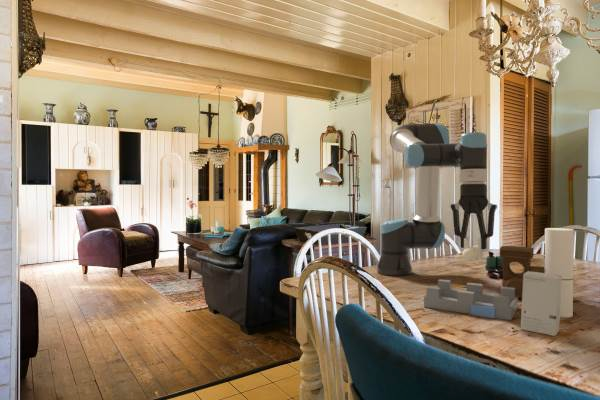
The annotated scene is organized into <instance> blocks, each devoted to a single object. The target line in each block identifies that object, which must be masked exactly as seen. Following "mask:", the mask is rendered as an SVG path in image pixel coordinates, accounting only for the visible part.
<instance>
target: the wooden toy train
mask: <svg viewBox="0 0 600 400" xmlns="http://www.w3.org/2000/svg"><path fill="white" fill-rule="evenodd" d="M499 253H500V254H499V256H500V257H502V262H503V277H504V279H502V286H501V287H511V288H515V297H518V299H522V292H523V275H524V273H526V272H527V271H531V272H539V273H545V266H535V265H531V263H532V262H531V260H533V258H534V247H529V246H518V245H515V246H514V245H502V246H501V247H499ZM543 259H544V260H545V255H544V256H543ZM511 263H512V264H513V263H518V264H520V265H522V267H523V271H522V272H514V271H513V270H512V269H511Z"/></svg>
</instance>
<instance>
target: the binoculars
mask: <svg viewBox="0 0 600 400" xmlns="http://www.w3.org/2000/svg"><path fill="white" fill-rule="evenodd" d="M494 254H495V253H494V252H493V251H490V250H489V251H488V256H486V261H485V266H484V267H485V270H486V271H487V272H486V276H488V277H489V278H490V279H493V280H497V279H498V277H500V279H502V280H503V279H504V277H503V262H502V257H500V252H499V253H498V254H499V255H496V256H495V255H494Z"/></svg>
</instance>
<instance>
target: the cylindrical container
mask: <svg viewBox="0 0 600 400" xmlns="http://www.w3.org/2000/svg"><path fill="white" fill-rule="evenodd" d="M574 230H575V229H573V228H564V227H545V228H544V256H545V259H544V267H545V273H547V274H553V275H559V276H562V285H561V304H560V318H573V315H574V313H573V312H574V242H575V241H574V240H575V239H574V233H575V231H574Z"/></svg>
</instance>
